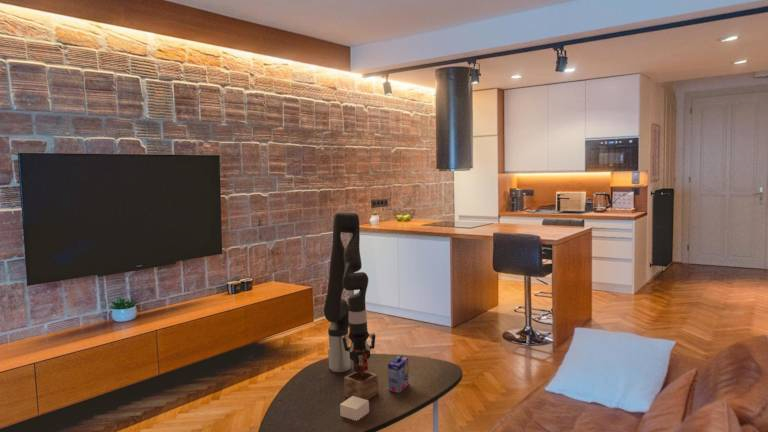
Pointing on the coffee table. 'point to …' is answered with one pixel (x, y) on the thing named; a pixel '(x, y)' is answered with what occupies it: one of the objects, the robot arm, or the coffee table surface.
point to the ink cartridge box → (398, 374)
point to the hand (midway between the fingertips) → (360, 358)
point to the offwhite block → (354, 408)
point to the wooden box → (361, 385)
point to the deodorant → (359, 354)
